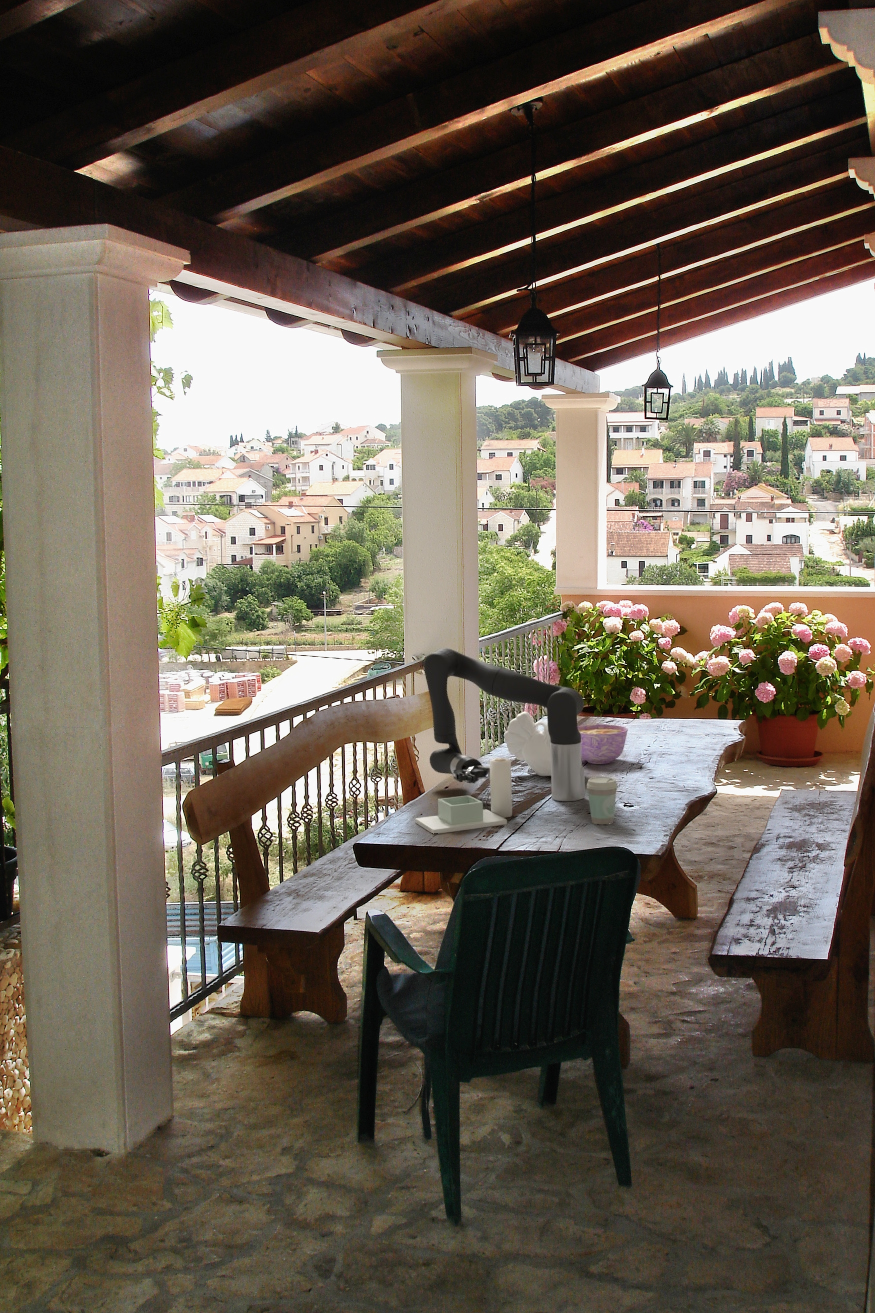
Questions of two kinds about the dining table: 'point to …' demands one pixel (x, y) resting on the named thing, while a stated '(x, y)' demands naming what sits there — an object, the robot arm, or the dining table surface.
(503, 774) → the paper roll
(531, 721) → the decorative rooster
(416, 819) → the roll caddy
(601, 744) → the bowl of food
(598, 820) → the coffee cup
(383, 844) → the dining table surface
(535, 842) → the dining table surface
